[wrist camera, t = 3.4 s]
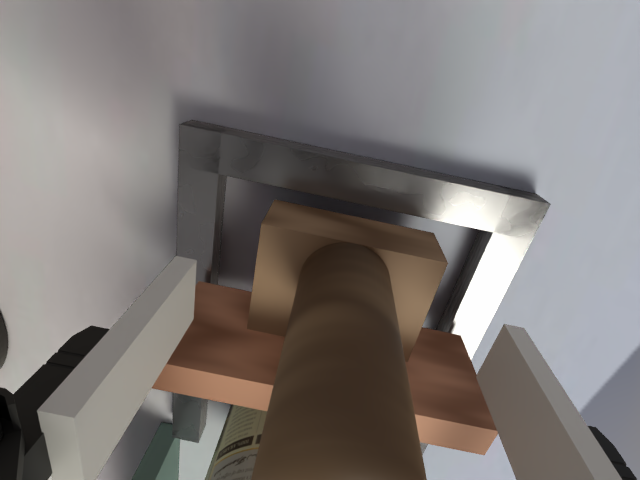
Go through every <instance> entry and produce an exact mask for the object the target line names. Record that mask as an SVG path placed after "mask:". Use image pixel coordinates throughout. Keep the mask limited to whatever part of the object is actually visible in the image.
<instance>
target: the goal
mask: <svg viewBox="0 0 640 480" xmlns="http://www.w3.org/2000/svg"><path fill="white" fill-rule="evenodd" d="M179 448H180V439H177V438H172V424H167V423H161V425H160V426H159V428H158V430H157V432H156V434H155V436H154V438H153V440H152V442H151V444H150V446H149V447H148V449H147V451H146V453H145V455H144V457H143V459H142V461H141V463H140V465H139V467H138V468H137V470H136V472H135V474H134V476H133V478H132V480H178V474H179Z"/></svg>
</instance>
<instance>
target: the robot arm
mask: <svg viewBox="0 0 640 480" xmlns="http://www.w3.org/2000/svg"><path fill="white" fill-rule="evenodd" d="M196 264H197V260H194V259H190V258H185V257H180V256H175V257H174V259H173V260H172V261H171V262H170V263H169V264H168V265H167V266H166V267H165V269H164V270H163V271H162V272H161V273H160V274H159V275H158V276H157V277H156V279H155V280H154V281H153V282H152V283H151V284H150V285H149V286H148V287H147V289H146V290H145V291H144V292H143V293H142V294H141V295H140V296H139V298H138V299H137V300H136V301H135V302H134V303H133V304H132V305H131V306H130V308H129V309H128V310H127V311H126V312H125V313H124V314H123V315H122V316H121V318H120V319H119V320H118V321H117V322H116V323H115V324H114V325H113V326H112V328H111V329H106V328H101V327H96V326H90V327H88V328H86V329H84V330H83V331H81V332H79V333H77V334H75V335H73V336H72V337H71V338H70V339H69V340H68V341H67V342H66V343H65V344H64V345H63V346H62V347H61V348H60V349H59V350H58V352H57V353H55V354H54V355H53V356H52V357H51V358H50V359H49V360H48V361H47V363H46V364H45V365H43V366H42V367H41V368H40V369H39V370H38V371H37V372H36V373H35V374H34V375H33V376H31V377H30V378H29V379H28V380H27V381H26V382H25V383H24V384H23V385H22V386H21V387H20V388H19V389H18V390H17V391H16V392H15V393H14V394H12V393H11V392H9V391H8V390H7V389H5V388H0V480H48V478H49V477H50V476H51V477H52V480H96V478H97V477H98V475H99V473H100V472H101V470H102V468H103V467H104V465H105V463H106V462H107V460H108V459H109V457H110V455H111V454H112V452H113V450H114V449H115V447H116V445H117V444H118V442H119V440H120V439H121V437H122V436H123V434H124V432H125V431H126V429H127V427H128V426H129V424H130V422H131V421H132V419H133V418H134V416H135V414H136V413H137V411H138V409H139V408H140V406H141V404H142V403H143V401H144V400H145V398H146V396H147V395H148V393H149V391H150V390H151V388H152V386H153V385H154V383H155V381H156V380H157V378H158V377H159V375H160V373H161V372H162V370H163V368H164V367H165V365H166V363H167V362H168V360H169V359H170V357H171V355H172V354H173V352H174V350H175V349H176V347H177V345H178V344H179V342H180V340H181V339H182V337H183V336H184V334H185V332H186V331H187V329H188V327H189V326H190V324H191V322H192V321H193V319H194V303H195V283H196ZM7 350H8V340H7V333H6V329H5V325H4V322H3V320H2V317H1V315H0V369H1V367H2V366H3V364H4V362H5V359H6V356H7ZM476 378H477V381H478V383H479V386H480V389H481V391H482V394H483V396H484V399H485V401H486V404H487V406H488V409H489V411H490V414H491V416H492V419H493V421H494V424H495V426H496V429H497V431H498V434H499V437H500V439H501V442H502V444H503V447H504V449H505V452H506V454H507V457H508V459H509V462H510V464H511V467H512V469H513V472H514V474H515V477H516V479H517V480H637V479H636V477H635V476H634V474H633V473H632V471H631V470H630V468H628V467H626V463H625V461H624V460H623V458H622V457H621V455H620V454H619V452H618V451H617V449H616V448H615V446H614V445H613V444H612V443H611V442H610V441H609V440H608V439H607V438H606V437H605V436H604V435H603V434H602V433H601V432H600V431H599V430H598V429H597V428H596V427H591V426H587V425H586V423H585V421H584V420H583V418H582V417H581V415H580V414H579V412H578V411H577V409H576V407H575V406H574V404H573V403H572V401H571V400H570V398H569V397H568V395H567V394H566V392H565V390H564V389H563V387H562V386H561V384H560V383H559V381H558V380H557V378H556V377H555V375H554V374H553V372H552V370H551V369H550V367H549V366H548V364H547V363H546V361H545V360H544V358H543V357H542V355H541V353H540V352H539V350H538V349H537V347H536V346H535V344H534V343H533V341H532V340H531V338H530V336H529V335H528V333H527V332H526V330H525V329H524V328H521V327H516V326H511V325H507V324H504V325H503V327H502V329H501V331H500V333H499V334H498V336H497V338H496V340H495V342H494V344H493V346H492V348H491V349H490V351H489V353H488V355H487V357H486V359H485V361H484V363H483V364H482V366H481V368H480V370H479V372H478V374H477V376H476Z"/></svg>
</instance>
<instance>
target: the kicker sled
mask: <svg viewBox="0 0 640 480" xmlns="http://www.w3.org/2000/svg"><path fill="white" fill-rule="evenodd" d="M447 264H448V262H447V260H446V258H445V256H444V254H443V252H442V249H441V247H440V245H439V243H438V241H437V239H436V237H435V235H434V233H431V232H426V231H421V230H417V229H412V228H407V227H403V226H398V225H393V224H388V223H384V222H379V221H374V220H370V219H365V218H360V217H355V216H351V215H346V214H341V213H336V212H332V211H327V210H322V209H318V208H313V207H308V206H303V205H299V204H294V203H289V202H285V201H280V200H274V201H273V203H272V205H271V207H270V209H269V210H268V212H267V214H266V216H265V218H264V220H263V221H262V223H261V229H260V236H259V244H258V251H257V258H256V266H255V273H254V280H253V288H252V292H249V291H244V290H239V289H235V288H230V287H225V286H220V285H215V284H211V283H206V282H201V281H198V283H197V284H196V286H195V303H194V319H193V321H192V322H191V324H190V326H189V327H188V329H187V331H186V332H185V334H184V336H183V337H182V339H181V340H180V342H179V344H178V345H177V347H176V349H175V350H174V352H173V354H172V355H171V357H170V359H169V360H168V362H167V363H166V365H165V367H164V368H163V370H162V372H161V373H160V375H159V377H158V378H157V380H156V381H155V383H154V385H153V386H152V388H154V389H158V390H163V391H168V392H173V393H178V394H183V395H188V396H193V397H198V398H203V399H208V400H213V401H218V402H223V403H228V404H233V405H238V406H243V407H248V408H253V409H258V410H263V411H267V415H266V419H265V423H264V427H263V431H262V436H261V440H260V444H259V448H258V452H257V457H256V461H255V465H254V469H253V473H252V477H251V480H427V479H426V474H425V468H424V463H423V457H422V451H421V446H420V442H422V443H427V444H432V445H437V446H442V447H446V448H451V449H456V450H461V451H466V452H471V453H476V454H481V455H485V453H486V452H487V450H488V448H489V447H490V445H491V444H492V442H493V441H494V439H495V437H496V436H497V434H498V431H497V429H496V426H495V424H494V421H493V419H492V416H491V414H490V411H489V409H488V406H487V404H486V401H485V399H484V396H483V394H482V391H481V389H480V386H479V383H478V381H477V378H476V376H477V375H476V372H475V370H474V367H473V365H472V362H471V360H470V357H469V355H468V352H467V350H466V347H465V345H464V342H463V340H462V337H461V335H457V334H452V333H447V332H442V331H437V330H433V329H428V328H423V327H422V326H423V323H424V321H425V318H426V316H427V313H428V311H429V308H430V306H431V303H432V301H433V299H434V296H435V294H436V291H437V289H438V286H439V284H440V281H441V279H442V277H443V274H444V272H445V269H446V267H447Z"/></svg>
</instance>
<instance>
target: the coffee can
mask: <svg viewBox="0 0 640 480" xmlns="http://www.w3.org/2000/svg"><path fill="white" fill-rule="evenodd" d="M266 415H267V411H263V410H258V409H253V408H248V407H243V406H238V405H233V404H231V407H230V410H229V413H228V415H227V418H226V421H225V424H224V427H223V430H222V433H221V435H220V438H219V441H218V444H217V447H216V450H215V452H214V455H213V458H212V461H211V464H210V467H209V469H208V472H207V475H206V478H205V480H251V477H252V473H253V469H254V465H255V461H256V457H257V452H258V448H259V444H260V440H261V436H262V431H263V427H264V423H265V419H266Z"/></svg>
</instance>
